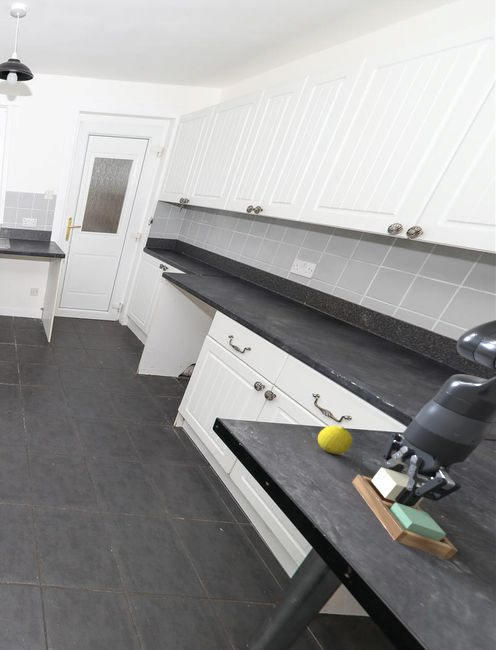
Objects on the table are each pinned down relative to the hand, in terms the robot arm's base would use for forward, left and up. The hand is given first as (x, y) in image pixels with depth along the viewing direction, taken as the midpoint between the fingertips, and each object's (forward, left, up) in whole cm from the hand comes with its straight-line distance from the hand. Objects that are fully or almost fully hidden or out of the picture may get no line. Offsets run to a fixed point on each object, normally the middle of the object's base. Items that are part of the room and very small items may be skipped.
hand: (393, 492), depth 68 cm
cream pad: (0, 0, 0) cm, 0 cm away
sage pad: (0, +7, -3) cm, 7 cm away
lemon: (+4, -14, -4) cm, 15 cm away
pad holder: (0, +3, -4) cm, 5 cm away
